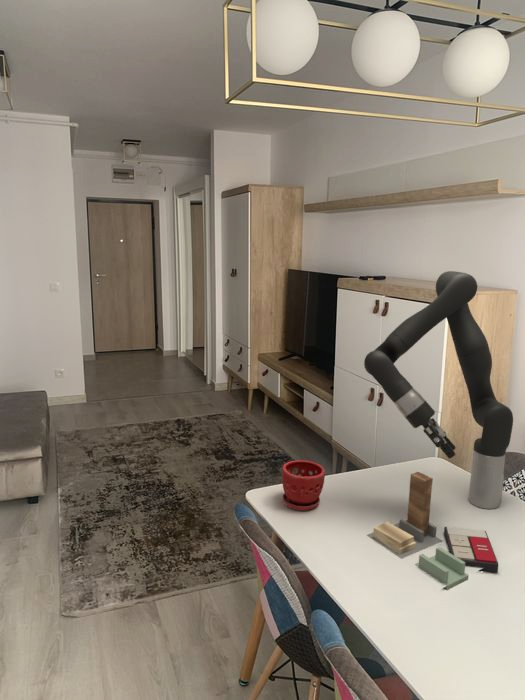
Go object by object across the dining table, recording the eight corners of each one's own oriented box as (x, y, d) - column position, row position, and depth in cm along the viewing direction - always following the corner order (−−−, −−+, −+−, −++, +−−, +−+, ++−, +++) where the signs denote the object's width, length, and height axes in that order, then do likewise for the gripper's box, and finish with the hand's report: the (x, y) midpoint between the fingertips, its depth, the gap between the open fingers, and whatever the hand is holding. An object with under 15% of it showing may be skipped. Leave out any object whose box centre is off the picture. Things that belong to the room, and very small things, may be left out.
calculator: (453, 557, 136) (444, 523, 151) (451, 571, 137) (443, 537, 152) (499, 561, 134) (486, 527, 149) (497, 576, 136) (484, 541, 150)
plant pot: (302, 518, 160) (303, 481, 158) (272, 502, 170) (273, 466, 167) (332, 504, 169) (333, 469, 166) (302, 489, 178) (303, 455, 176)
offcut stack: (388, 530, 152) (389, 520, 151) (415, 547, 144) (416, 537, 143) (372, 536, 149) (372, 526, 148) (399, 554, 140) (399, 544, 140)
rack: (406, 523, 158) (407, 510, 157) (442, 544, 147) (444, 530, 147) (365, 539, 150) (366, 525, 149) (401, 562, 139) (402, 548, 138)
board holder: (435, 559, 141) (436, 544, 140) (468, 579, 133) (469, 564, 132) (414, 568, 137) (415, 553, 136) (446, 590, 128) (448, 574, 128)
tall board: (413, 527, 154) (418, 471, 150) (427, 535, 150) (432, 478, 146) (406, 530, 152) (410, 474, 149) (420, 538, 148) (425, 481, 145)
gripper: (423, 402, 147) (464, 450, 143) (426, 396, 160) (463, 440, 157) (401, 419, 149) (441, 467, 146) (406, 412, 162) (442, 455, 159)
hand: (452, 453), depth 151 cm, fingers open, 8 cm apart
